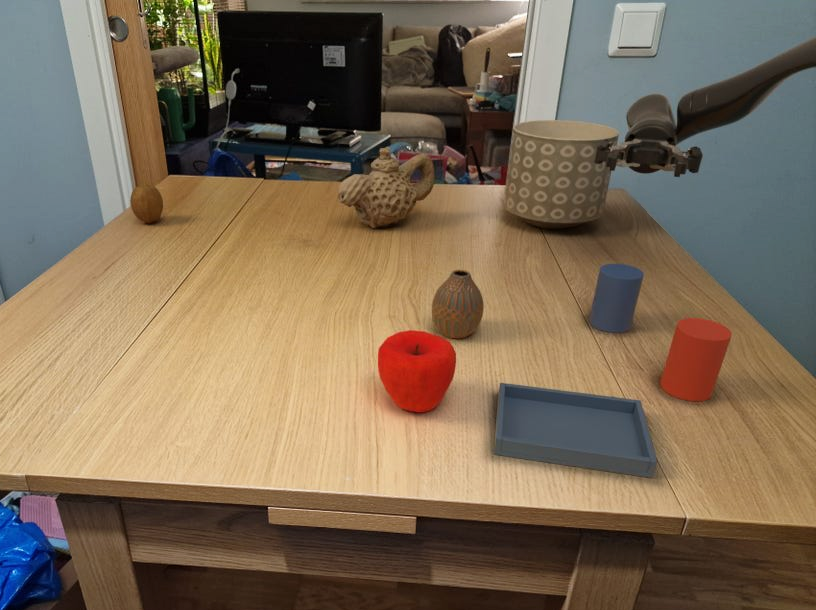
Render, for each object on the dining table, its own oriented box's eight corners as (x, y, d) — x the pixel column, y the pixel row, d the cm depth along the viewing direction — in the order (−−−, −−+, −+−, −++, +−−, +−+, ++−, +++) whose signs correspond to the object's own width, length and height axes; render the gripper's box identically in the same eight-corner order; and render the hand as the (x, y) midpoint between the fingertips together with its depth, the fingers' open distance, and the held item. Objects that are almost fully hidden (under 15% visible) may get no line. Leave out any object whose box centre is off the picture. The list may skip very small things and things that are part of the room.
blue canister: (628, 317, 96) (640, 265, 92) (633, 334, 91) (646, 280, 87) (587, 313, 97) (598, 261, 93) (590, 330, 92) (601, 276, 88)
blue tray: (636, 415, 74) (640, 400, 73) (652, 478, 64) (657, 462, 64) (497, 396, 77) (500, 382, 76) (493, 454, 68) (495, 438, 67)
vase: (488, 329, 92) (496, 270, 88) (467, 348, 87) (474, 287, 83) (443, 316, 96) (448, 259, 91) (421, 335, 91) (425, 275, 86)
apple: (366, 386, 79) (367, 328, 75) (435, 378, 81) (440, 320, 77) (388, 429, 71) (391, 367, 68) (464, 419, 73) (471, 357, 69)
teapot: (353, 241, 124) (354, 159, 116) (324, 223, 132) (324, 146, 125) (445, 224, 132) (452, 147, 125) (413, 209, 141) (417, 136, 134)
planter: (536, 203, 145) (550, 116, 136) (618, 224, 132) (638, 130, 123) (482, 221, 134) (493, 128, 125) (565, 245, 122) (583, 144, 113)
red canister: (705, 379, 81) (725, 320, 77) (716, 404, 76) (737, 342, 72) (656, 373, 82) (672, 315, 78) (664, 397, 77) (682, 337, 73)
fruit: (169, 218, 135) (164, 179, 131) (159, 228, 130) (154, 187, 126) (140, 217, 136) (134, 178, 132) (128, 227, 130) (122, 186, 127)
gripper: (692, 172, 105) (693, 199, 92) (598, 163, 110) (587, 187, 97) (705, 122, 101) (709, 143, 88) (607, 115, 106) (597, 134, 94)
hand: (645, 166), depth 93 cm, fingers open, 8 cm apart
